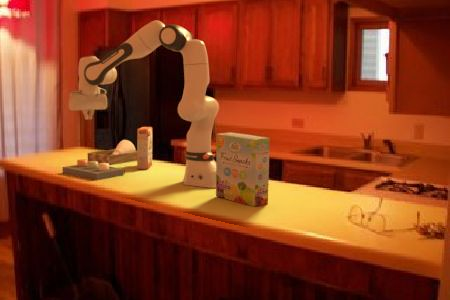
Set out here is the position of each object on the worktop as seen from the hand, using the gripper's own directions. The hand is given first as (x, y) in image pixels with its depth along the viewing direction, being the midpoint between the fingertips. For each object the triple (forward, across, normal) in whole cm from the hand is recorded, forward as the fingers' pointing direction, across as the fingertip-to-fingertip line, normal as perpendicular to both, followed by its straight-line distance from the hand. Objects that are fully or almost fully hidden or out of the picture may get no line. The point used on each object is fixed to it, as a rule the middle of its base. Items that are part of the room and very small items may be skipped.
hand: (88, 119), depth 237 cm
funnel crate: (+27, +33, +19) cm, 47 cm away
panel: (+26, 0, -3) cm, 27 cm away
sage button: (+25, 0, -3) cm, 25 cm away
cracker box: (+26, +30, -8) cm, 41 cm away
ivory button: (+25, 0, -11) cm, 27 cm away
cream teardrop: (+27, +35, +19) cm, 48 cm away
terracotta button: (+25, 0, +5) cm, 26 cm away
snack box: (+25, +4, -88) cm, 91 cm away
